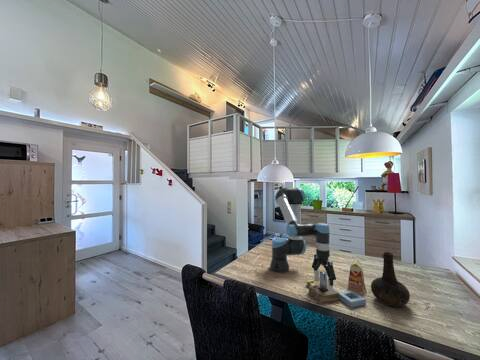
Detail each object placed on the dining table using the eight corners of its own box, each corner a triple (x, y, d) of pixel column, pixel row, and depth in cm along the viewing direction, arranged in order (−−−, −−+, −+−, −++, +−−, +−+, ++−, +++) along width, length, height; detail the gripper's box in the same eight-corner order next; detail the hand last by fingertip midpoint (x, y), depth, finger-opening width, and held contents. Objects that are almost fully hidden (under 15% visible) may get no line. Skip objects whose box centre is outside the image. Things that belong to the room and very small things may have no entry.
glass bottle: (410, 301, 117) (409, 252, 118) (409, 316, 104) (408, 261, 104) (374, 290, 129) (373, 246, 129) (368, 303, 115) (367, 253, 116)
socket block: (308, 292, 127) (308, 286, 127) (325, 289, 130) (325, 283, 130) (321, 303, 115) (321, 296, 116) (339, 299, 119) (338, 292, 119)
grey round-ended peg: (318, 294, 124) (318, 271, 125) (324, 293, 125) (323, 270, 126) (322, 298, 120) (322, 274, 121) (328, 297, 121) (328, 273, 122)
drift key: (306, 285, 136) (306, 280, 136) (312, 284, 137) (312, 279, 137) (314, 291, 127) (314, 287, 127) (320, 290, 129) (320, 286, 129)
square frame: (337, 297, 121) (337, 292, 121) (351, 295, 124) (351, 290, 124) (351, 307, 111) (351, 302, 111) (365, 304, 114) (365, 299, 114)
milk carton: (350, 285, 136) (349, 255, 137) (366, 289, 130) (365, 258, 131) (347, 290, 129) (346, 258, 130) (364, 295, 123) (363, 262, 124)
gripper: (305, 244, 134) (306, 277, 134) (331, 256, 111) (332, 296, 110) (315, 243, 136) (316, 276, 136) (342, 255, 113) (343, 294, 112)
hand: (323, 285), depth 123 cm, fingers open, 12 cm apart
